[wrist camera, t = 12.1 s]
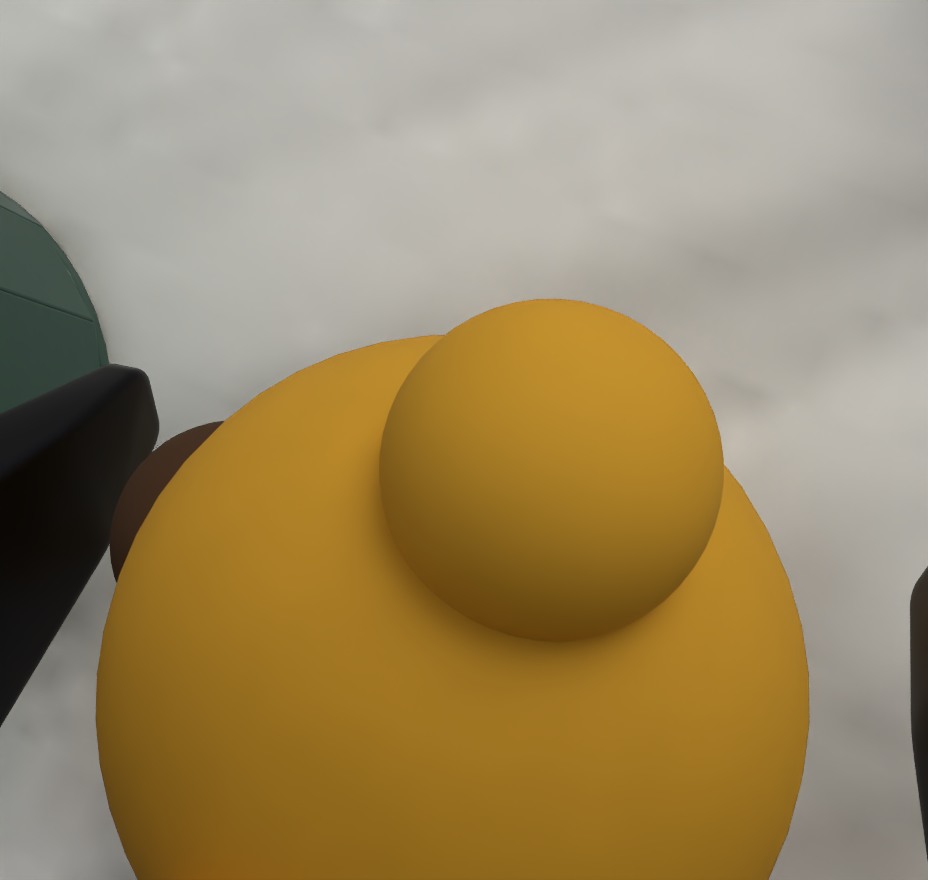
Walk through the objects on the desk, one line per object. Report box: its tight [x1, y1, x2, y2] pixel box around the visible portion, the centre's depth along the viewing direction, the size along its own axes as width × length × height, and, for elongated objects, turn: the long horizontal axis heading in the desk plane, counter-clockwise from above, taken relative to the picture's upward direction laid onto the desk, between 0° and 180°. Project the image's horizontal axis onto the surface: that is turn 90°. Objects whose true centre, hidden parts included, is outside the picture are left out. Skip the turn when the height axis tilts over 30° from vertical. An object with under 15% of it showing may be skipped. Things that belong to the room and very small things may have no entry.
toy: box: [96, 299, 809, 880], centre depth 10 cm, size 5×5×13 cm
